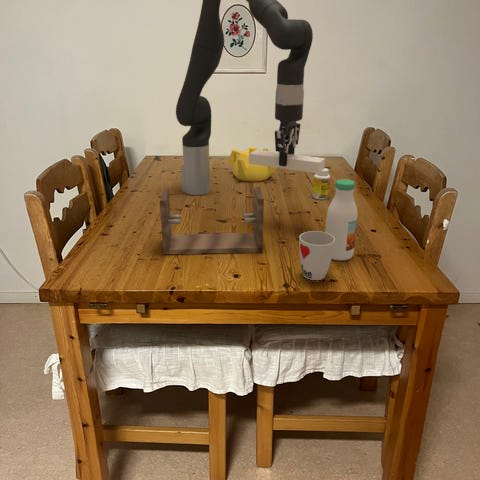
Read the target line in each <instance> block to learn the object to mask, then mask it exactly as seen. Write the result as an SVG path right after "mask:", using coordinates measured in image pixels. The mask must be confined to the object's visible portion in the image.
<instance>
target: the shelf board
mask: <svg viewBox="0 0 480 480" xmlns="http://www.w3.org/2000/svg"><path fill="white" fill-rule="evenodd" d="M325 162H326V157H315V156H308V155H302V154H300V155H299V154H294V155H293V154H288V155H287V165H286V166H280V165H279V152H277V151H270V150H268V151H263V150H260V149H257V150H255V151H253V152H251V153H249V164H254V165H261V166H269V167H276V168H278V169H285V170H290V171H291V170H293V171H298V172H304V173H305V172H306V173H307V172H308V173H313V174H317V173H320V172H321V171H322V170H323V169H324V168H325V165H326V164H325Z"/></svg>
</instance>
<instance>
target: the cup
mask: <svg viewBox="0 0 480 480" xmlns="http://www.w3.org/2000/svg"><path fill="white" fill-rule="evenodd" d="M298 240H299V241H298V243H299V244H298V245H299V250H298V251H299V253H298V254H299V263H300V268H301V272H302V276H303V278H304V277H305V278H307V279H310V280H321V279H323V278H324V279H325V277H326V276H327V273H328V270H329V268H330V265H331V261H332V260H333V259H332V254H333V248H334V242H335V238H334V237H333V236H332V235H330V234H328V233H325V231H320V230H311V231H305V232H303V233H301V234H300V235H299V238H298ZM305 278H304V279H305ZM307 279H306V280H307ZM324 279H323V280H324ZM310 280H309V281H310ZM321 281H322V280H321Z"/></svg>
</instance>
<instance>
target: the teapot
mask: <svg viewBox="0 0 480 480" xmlns="http://www.w3.org/2000/svg"><path fill="white" fill-rule="evenodd" d="M255 150H258V147H256V146H251V147H248V149H247V150H246V149H245V150H243V151H240V150H238V149H235V148H234V149H231V152H230V156H229V157H228V158H229V159H228V163H229V165H231V167H233V169H232V171H233V172H232V173H233V175H234V176H235V177H236V179H238V180H240V181H243V182H248V181H249V183H250V182H251V183H253V182H255V183H256V182H263V180H264V181H267V180H268V179H269V178H270V177H271V175H272V174H273V173H274V172H275V171H276V170H277V169H279V168H276V167H269V166H261V165H254V164H249V153H251V152H253V151H255ZM262 151H269V148H262Z"/></svg>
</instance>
